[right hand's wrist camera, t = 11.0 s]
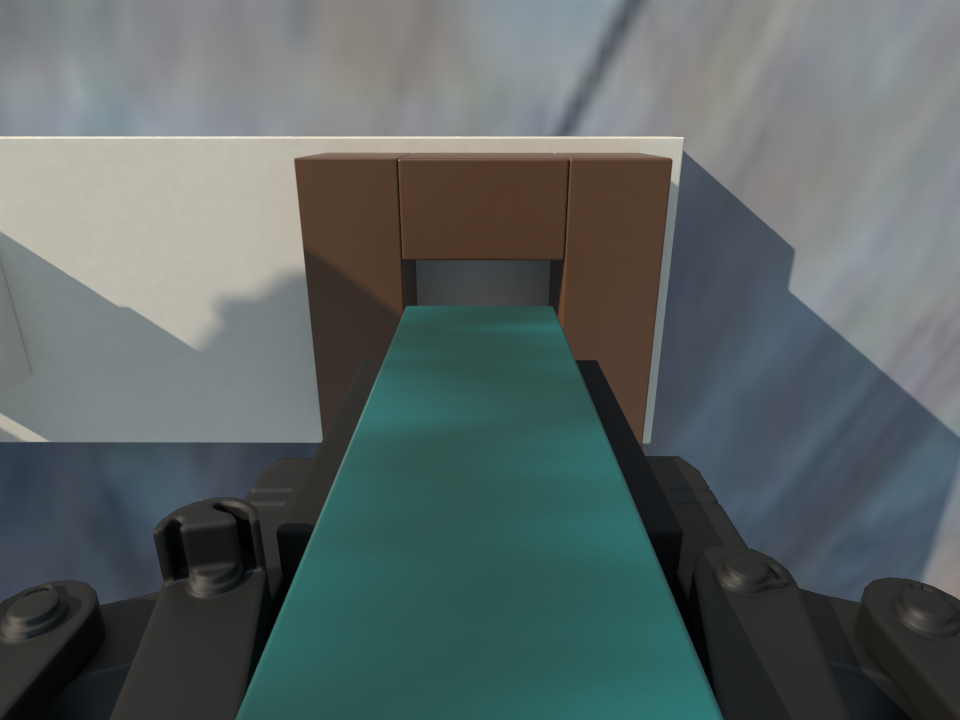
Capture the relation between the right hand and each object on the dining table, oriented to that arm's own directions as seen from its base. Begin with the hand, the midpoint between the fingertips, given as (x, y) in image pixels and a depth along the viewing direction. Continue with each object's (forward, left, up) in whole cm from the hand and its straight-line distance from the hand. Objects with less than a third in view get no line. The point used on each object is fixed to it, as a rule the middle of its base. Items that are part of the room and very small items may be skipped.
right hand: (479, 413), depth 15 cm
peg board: (+8, 0, -11) cm, 14 cm away
